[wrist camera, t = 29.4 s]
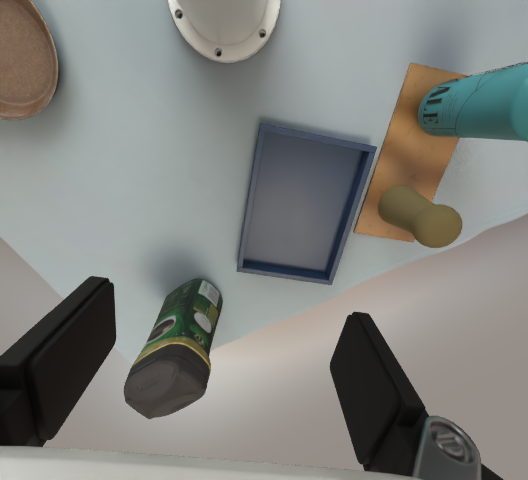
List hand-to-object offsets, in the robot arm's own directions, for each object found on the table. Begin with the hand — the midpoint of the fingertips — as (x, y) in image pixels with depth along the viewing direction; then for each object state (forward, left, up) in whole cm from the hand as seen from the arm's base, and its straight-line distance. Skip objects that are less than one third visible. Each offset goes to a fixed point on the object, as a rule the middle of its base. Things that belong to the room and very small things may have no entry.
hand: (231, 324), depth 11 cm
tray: (+3, +8, -30) cm, 31 cm away
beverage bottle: (-14, +23, -30) cm, 40 cm away
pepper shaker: (0, +23, -30) cm, 38 cm away
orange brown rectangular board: (-6, +23, -30) cm, 38 cm away
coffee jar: (+22, -6, -31) cm, 38 cm away
